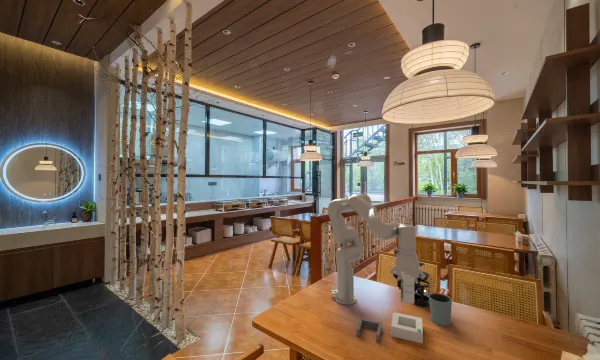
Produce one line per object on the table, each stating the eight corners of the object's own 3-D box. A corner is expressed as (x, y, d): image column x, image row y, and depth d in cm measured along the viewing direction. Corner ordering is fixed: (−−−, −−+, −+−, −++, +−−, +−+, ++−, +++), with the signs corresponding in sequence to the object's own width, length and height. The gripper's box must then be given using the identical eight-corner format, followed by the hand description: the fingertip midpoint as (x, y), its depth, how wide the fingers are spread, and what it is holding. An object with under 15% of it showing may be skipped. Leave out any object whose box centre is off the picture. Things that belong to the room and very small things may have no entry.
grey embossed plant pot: (455, 328, 119) (455, 303, 119) (432, 325, 121) (432, 301, 121) (447, 316, 129) (447, 293, 129) (426, 314, 131) (426, 291, 131)
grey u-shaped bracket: (356, 335, 114) (356, 329, 113) (360, 324, 123) (360, 318, 123) (379, 341, 109) (379, 335, 109) (381, 329, 118) (381, 322, 118)
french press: (428, 299, 146) (428, 261, 146) (433, 308, 137) (432, 266, 137) (407, 297, 149) (407, 259, 149) (410, 305, 140) (410, 264, 140)
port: (391, 335, 113) (391, 324, 113) (393, 320, 125) (393, 310, 125) (422, 343, 108) (422, 332, 108) (421, 327, 120) (421, 316, 120)
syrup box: (400, 296, 120) (400, 266, 120) (414, 298, 118) (413, 268, 118) (400, 302, 114) (400, 270, 114) (415, 304, 112) (414, 272, 112)
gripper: (386, 251, 116) (387, 289, 116) (428, 255, 109) (428, 296, 109) (388, 247, 123) (388, 283, 123) (427, 251, 116) (427, 289, 116)
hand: (407, 289), depth 116 cm, fingers closed on syrup box, 5 cm apart
